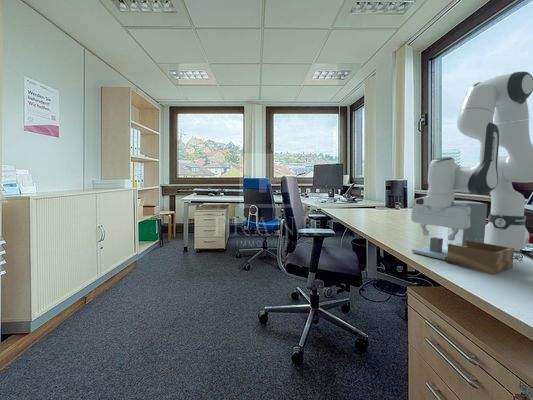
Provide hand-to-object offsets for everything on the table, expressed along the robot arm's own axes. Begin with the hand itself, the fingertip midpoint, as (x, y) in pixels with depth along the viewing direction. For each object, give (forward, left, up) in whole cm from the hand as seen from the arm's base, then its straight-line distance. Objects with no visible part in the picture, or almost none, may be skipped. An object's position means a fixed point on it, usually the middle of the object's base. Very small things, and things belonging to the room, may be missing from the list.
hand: (438, 237), depth 113 cm
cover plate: (+1, 0, -6) cm, 6 cm away
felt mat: (0, 0, -7) cm, 7 cm away
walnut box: (+1, +14, -7) cm, 16 cm away
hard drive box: (-17, +2, -7) cm, 18 cm away
